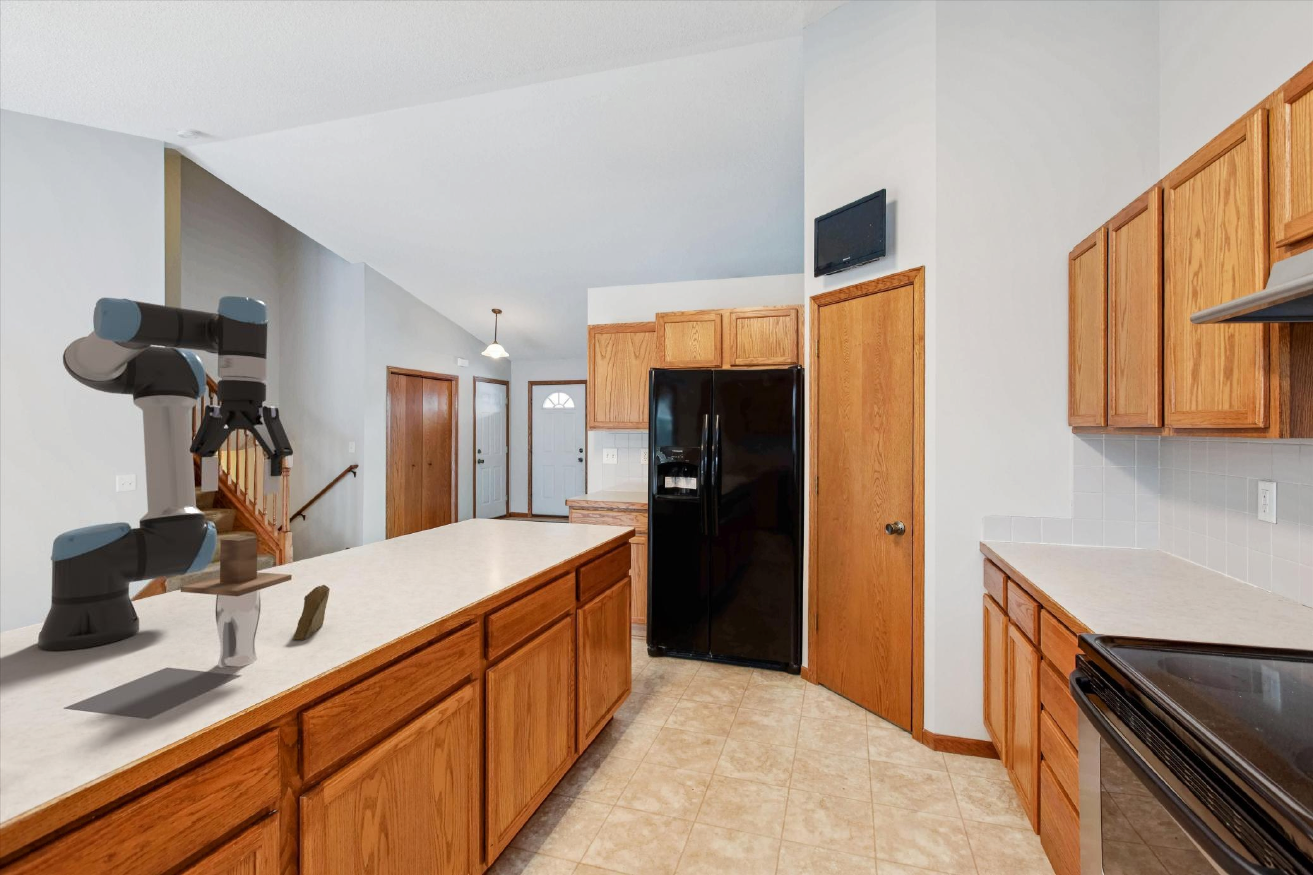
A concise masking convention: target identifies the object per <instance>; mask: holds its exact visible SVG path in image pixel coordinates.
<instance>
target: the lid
mask: <svg viewBox="0 0 1313 875" xmlns="http://www.w3.org/2000/svg"><path fill="white" fill-rule="evenodd" d="M219 548H220V549H219V550H220V552H219V553H220V554H219V555H220V556H219V557H220V558H219V559H220V560H219V562H220V563H219V566H220V567H219V576H216V577H212V578H207V579H204V580H200V581H197V582H193V583H190V584H184V585H181V586H180V593H191V594H202V595H214V596H217V595H225V596H241V595H244V594H247V593H251V592H254V591H257V590H260V591H261V590H263V589H266V588H269V587H272V586H275V585H276V586H277V585H279V584H283V583H286V582H289V581H292V579H293V578H292V574H288V573H287V574H286V573H285V574H284V573H269V572H258V536H248V535H237V536H232V537H226V538H223V539H220V546H219Z"/></svg>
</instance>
